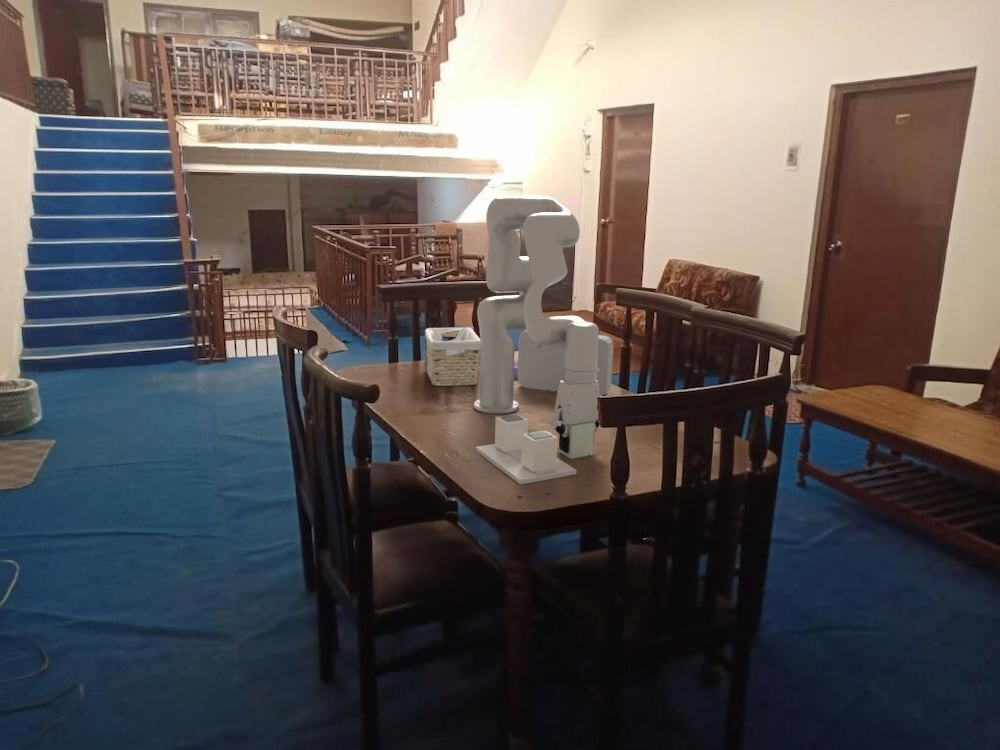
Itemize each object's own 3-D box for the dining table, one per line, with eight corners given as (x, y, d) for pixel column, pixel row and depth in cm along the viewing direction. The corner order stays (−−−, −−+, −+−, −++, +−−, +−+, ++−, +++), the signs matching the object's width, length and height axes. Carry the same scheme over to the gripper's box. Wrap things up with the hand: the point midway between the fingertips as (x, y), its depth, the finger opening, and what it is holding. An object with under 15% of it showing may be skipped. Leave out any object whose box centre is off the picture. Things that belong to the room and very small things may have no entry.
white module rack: (475, 450, 174) (476, 415, 172) (527, 442, 180) (528, 408, 178) (520, 484, 155) (521, 445, 153) (576, 474, 161) (578, 436, 159)
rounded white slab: (612, 392, 226) (616, 335, 221) (605, 398, 219) (609, 339, 215) (526, 381, 237) (527, 326, 232) (517, 386, 230) (518, 330, 225)
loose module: (559, 451, 175) (561, 419, 173) (580, 448, 177) (582, 415, 175) (570, 458, 170) (572, 425, 168) (592, 455, 173) (594, 422, 171)
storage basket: (424, 369, 249) (423, 326, 245) (471, 368, 252) (472, 326, 248) (429, 388, 226) (429, 341, 222) (481, 387, 229) (482, 340, 225)
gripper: (601, 368, 176) (597, 439, 181) (539, 375, 168) (536, 449, 173) (620, 375, 170) (615, 449, 174) (556, 383, 162) (553, 459, 166)
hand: (576, 448), depth 173 cm, fingers closed on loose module, 6 cm apart
